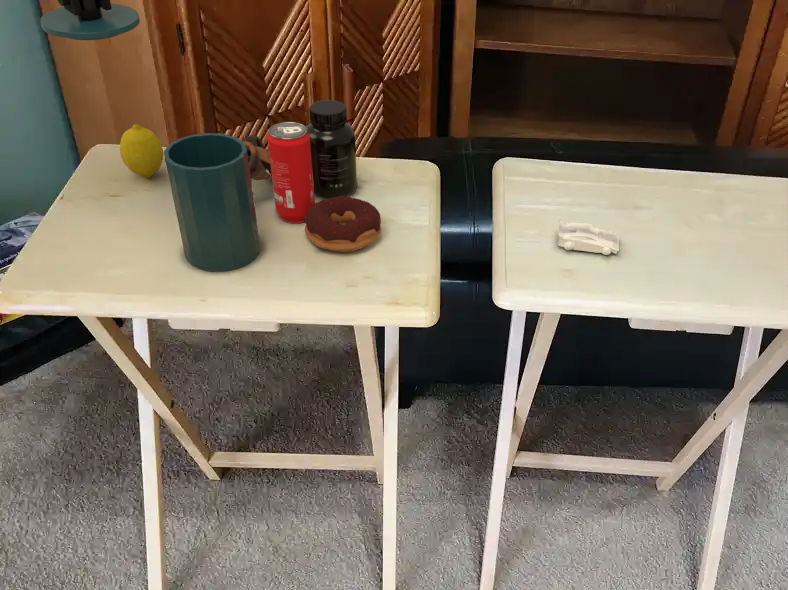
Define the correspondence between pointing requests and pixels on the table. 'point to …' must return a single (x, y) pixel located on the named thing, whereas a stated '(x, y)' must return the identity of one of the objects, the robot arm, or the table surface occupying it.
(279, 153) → the beverage can
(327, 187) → the supplement bottle
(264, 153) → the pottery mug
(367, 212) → the donut
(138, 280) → the table surface
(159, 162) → the fruit
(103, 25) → the lid
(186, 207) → the pot
